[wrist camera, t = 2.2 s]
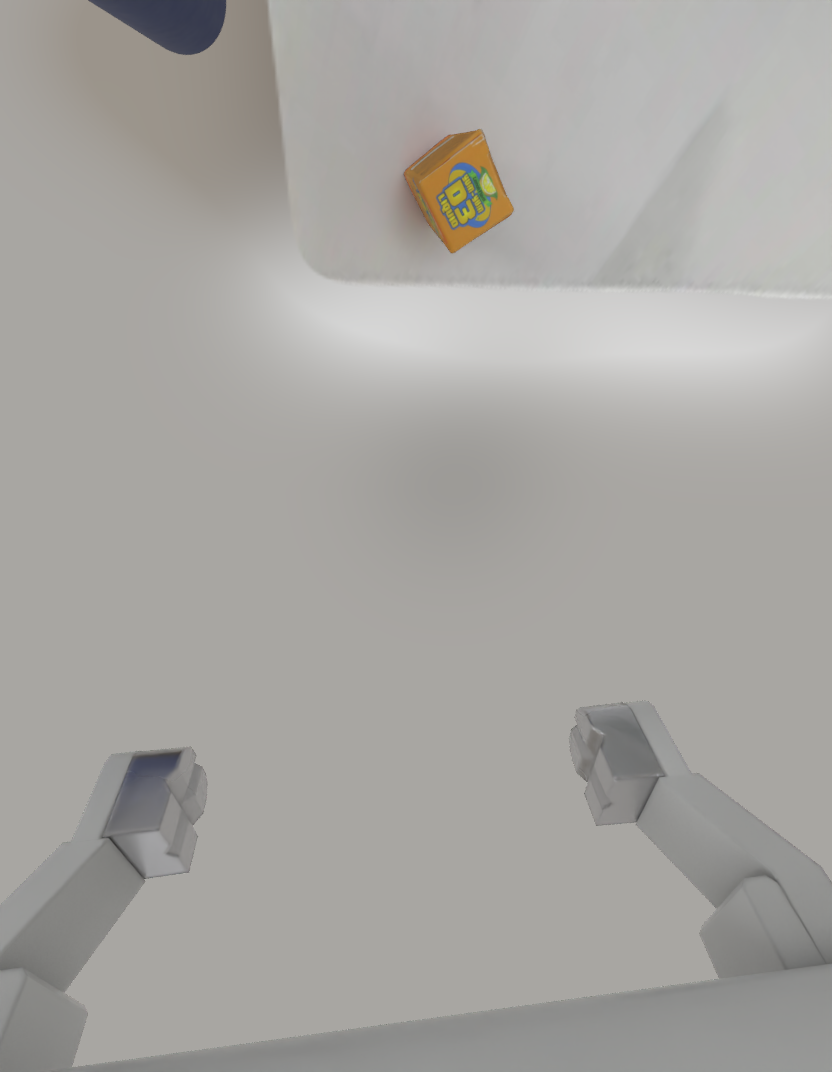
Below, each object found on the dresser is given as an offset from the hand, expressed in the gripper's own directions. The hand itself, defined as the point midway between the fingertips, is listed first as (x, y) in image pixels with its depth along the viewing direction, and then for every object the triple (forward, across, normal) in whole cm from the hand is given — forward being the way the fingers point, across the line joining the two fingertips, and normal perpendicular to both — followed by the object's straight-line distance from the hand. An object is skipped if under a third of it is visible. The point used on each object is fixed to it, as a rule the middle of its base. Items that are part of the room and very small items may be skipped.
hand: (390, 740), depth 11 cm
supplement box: (+29, -5, -9) cm, 30 cm away
